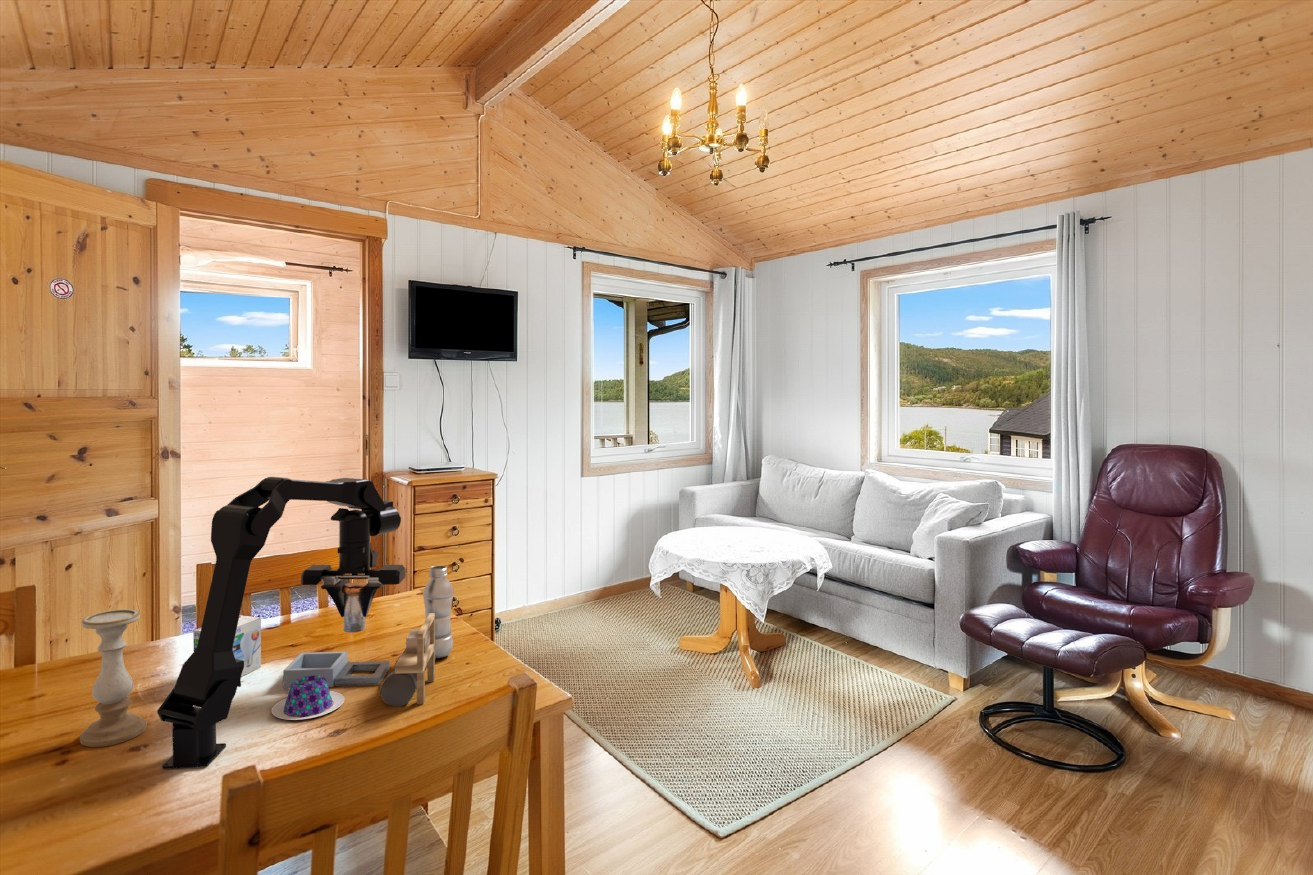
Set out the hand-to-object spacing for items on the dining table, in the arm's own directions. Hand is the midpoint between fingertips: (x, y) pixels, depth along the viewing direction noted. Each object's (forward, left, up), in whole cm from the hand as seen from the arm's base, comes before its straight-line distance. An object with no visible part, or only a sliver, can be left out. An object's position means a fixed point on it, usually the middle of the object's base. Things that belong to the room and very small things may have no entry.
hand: (354, 616), depth 138 cm
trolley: (-8, -13, -13) cm, 20 cm away
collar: (0, -2, -13) cm, 13 cm away
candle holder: (-21, +32, -13) cm, 41 cm away
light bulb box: (+3, +25, -13) cm, 29 cm away
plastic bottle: (+10, -15, -13) cm, 22 cm away
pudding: (-13, +4, -13) cm, 19 cm away
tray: (0, +7, -13) cm, 15 cm away
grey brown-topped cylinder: (0, 0, -3) cm, 3 cm away
